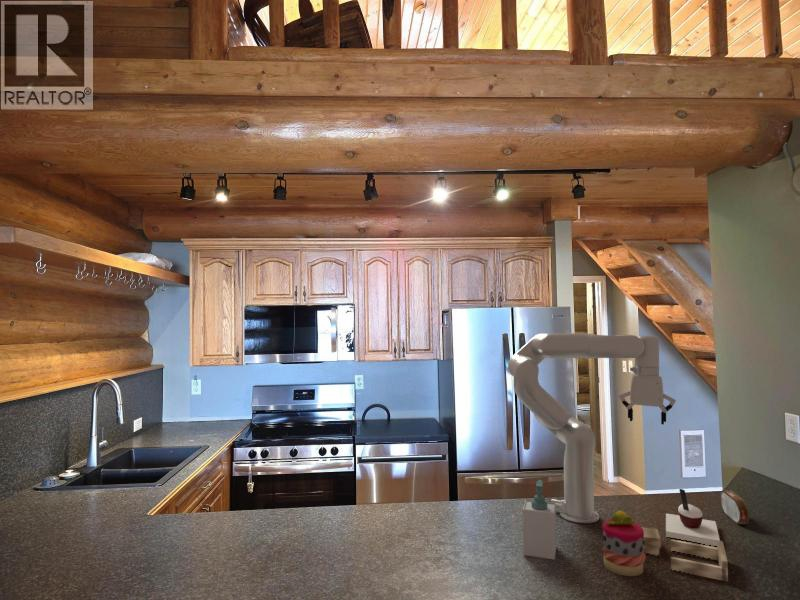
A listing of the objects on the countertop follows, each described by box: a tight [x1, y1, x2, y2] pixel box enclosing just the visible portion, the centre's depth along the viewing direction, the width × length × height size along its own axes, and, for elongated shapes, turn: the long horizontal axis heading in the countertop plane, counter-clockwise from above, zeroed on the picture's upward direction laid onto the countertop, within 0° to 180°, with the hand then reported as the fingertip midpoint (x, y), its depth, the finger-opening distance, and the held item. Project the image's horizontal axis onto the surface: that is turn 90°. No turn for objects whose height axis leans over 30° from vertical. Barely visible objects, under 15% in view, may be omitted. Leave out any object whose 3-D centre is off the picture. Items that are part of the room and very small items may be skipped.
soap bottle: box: [522, 479, 557, 560], centre depth 146 cm, size 9×9×19 cm
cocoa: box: [678, 488, 703, 528], centre depth 158 cm, size 10×6×12 cm, turn 101°
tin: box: [720, 489, 750, 526], centre depth 169 cm, size 15×3×8 cm, turn 168°
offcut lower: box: [643, 546, 660, 556], centre depth 147 cm, size 5×8×2 cm, turn 151°
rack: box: [670, 539, 729, 582], centre depth 137 cm, size 13×13×5 cm
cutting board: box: [665, 513, 721, 548], centre depth 158 cm, size 14×16×2 cm
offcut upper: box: [641, 526, 662, 549], centre depth 147 cm, size 5×7×2 cm, turn 160°
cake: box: [601, 510, 647, 577], centre depth 136 cm, size 10×11×15 cm
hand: (646, 422), depth 172 cm, fingers open, 9 cm apart
